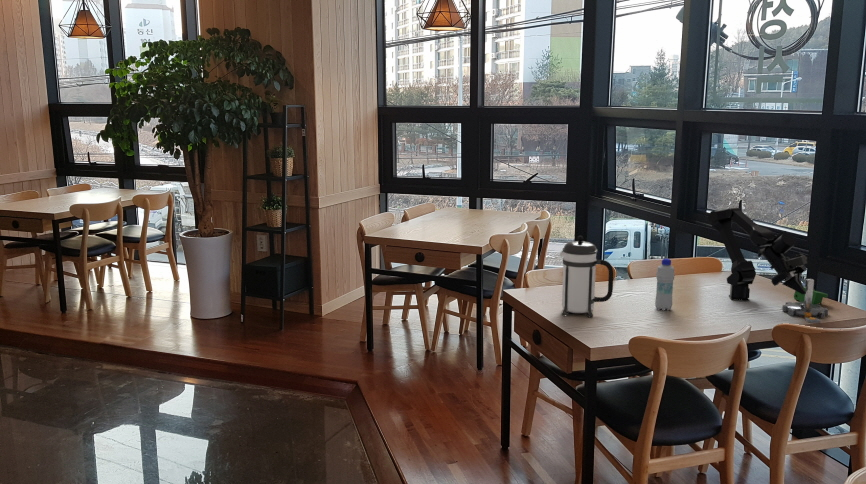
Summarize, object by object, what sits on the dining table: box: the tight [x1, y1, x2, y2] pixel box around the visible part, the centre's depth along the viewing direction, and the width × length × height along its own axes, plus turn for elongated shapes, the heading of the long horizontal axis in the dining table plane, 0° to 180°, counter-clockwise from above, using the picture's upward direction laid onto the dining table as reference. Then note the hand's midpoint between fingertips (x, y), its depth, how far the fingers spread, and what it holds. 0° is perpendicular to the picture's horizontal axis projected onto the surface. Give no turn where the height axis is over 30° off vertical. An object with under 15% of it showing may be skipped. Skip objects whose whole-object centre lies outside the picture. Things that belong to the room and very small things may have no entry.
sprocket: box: [781, 278, 829, 319], centre depth 268 cm, size 15×15×14 cm
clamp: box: [793, 286, 829, 305], centre depth 283 cm, size 12×6×9 cm, turn 6°
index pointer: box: [804, 317, 821, 324], centre depth 259 cm, size 4×3×1 cm
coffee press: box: [558, 235, 614, 318], centre depth 269 cm, size 17×16×30 cm
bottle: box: [654, 258, 676, 312], centre depth 273 cm, size 7×7×20 cm
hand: (804, 293), depth 264 cm, fingers closed
